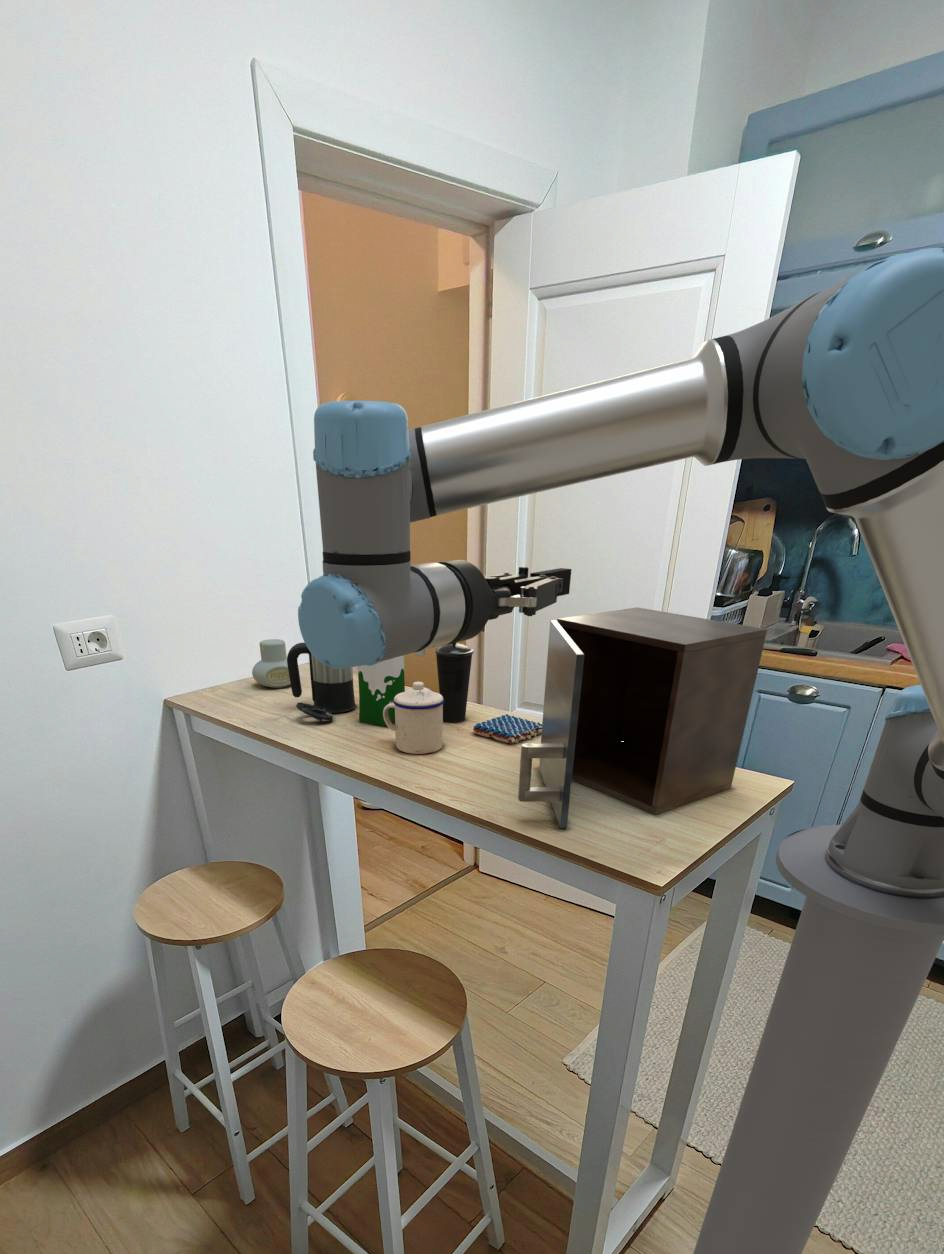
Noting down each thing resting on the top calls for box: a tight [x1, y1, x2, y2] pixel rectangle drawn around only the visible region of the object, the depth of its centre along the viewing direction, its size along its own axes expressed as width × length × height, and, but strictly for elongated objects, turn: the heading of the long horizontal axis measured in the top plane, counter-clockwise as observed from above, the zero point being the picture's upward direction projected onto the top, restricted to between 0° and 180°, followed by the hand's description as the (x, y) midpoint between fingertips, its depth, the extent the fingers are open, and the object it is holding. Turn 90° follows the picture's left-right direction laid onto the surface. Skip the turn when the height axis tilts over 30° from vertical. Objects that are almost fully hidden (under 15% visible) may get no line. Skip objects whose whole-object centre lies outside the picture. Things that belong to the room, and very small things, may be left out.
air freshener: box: [251, 638, 291, 689], centre depth 167 cm, size 11×8×10 cm
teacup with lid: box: [383, 681, 444, 755], centre depth 128 cm, size 12×9×12 cm
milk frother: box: [286, 641, 357, 723], centre depth 146 cm, size 14×16×15 cm
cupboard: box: [556, 607, 768, 816], centre depth 111 cm, size 18×24×24 cm
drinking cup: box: [434, 642, 475, 724], centre depth 140 cm, size 8×8×20 cm
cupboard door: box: [517, 619, 585, 829], centre depth 104 cm, size 7×24×24 cm, turn 0°
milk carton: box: [357, 655, 406, 728], centre depth 140 cm, size 9×9×20 cm
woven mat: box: [472, 713, 542, 744], centre depth 137 cm, size 10×11×2 cm
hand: (564, 581), depth 85 cm, fingers closed
